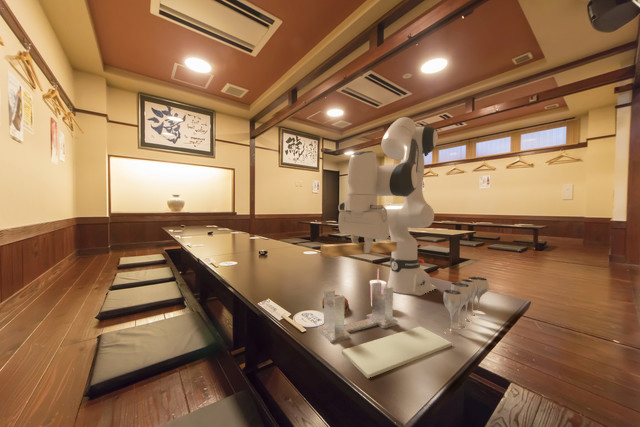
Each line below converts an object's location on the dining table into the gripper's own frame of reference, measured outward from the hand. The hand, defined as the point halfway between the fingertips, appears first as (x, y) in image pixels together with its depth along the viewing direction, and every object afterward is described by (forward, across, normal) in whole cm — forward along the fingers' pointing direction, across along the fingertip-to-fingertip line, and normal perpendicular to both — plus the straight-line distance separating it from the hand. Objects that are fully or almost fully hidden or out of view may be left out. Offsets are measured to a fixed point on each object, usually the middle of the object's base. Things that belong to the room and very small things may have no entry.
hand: (361, 251), depth 73 cm
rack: (+23, 0, 0) cm, 23 cm away
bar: (+1, 0, 0) cm, 1 cm away
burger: (+24, +15, 0) cm, 28 cm away
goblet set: (+23, -12, -34) cm, 43 cm away
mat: (+23, -14, -2) cm, 27 cm away
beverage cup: (+23, +10, -16) cm, 30 cm away
